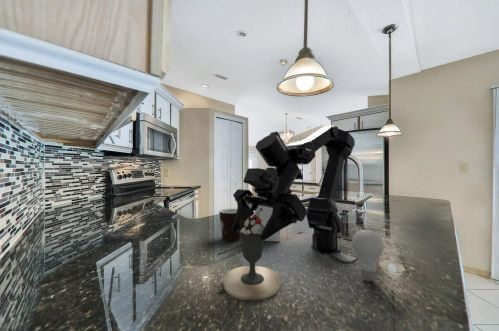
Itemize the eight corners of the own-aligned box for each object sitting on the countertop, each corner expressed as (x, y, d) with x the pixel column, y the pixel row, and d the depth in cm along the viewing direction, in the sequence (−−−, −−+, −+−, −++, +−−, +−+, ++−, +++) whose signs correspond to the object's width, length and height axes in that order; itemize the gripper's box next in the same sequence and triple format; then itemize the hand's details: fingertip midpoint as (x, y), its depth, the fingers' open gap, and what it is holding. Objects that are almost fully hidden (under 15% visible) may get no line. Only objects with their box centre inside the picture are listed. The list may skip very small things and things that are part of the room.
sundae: (273, 284, 43) (273, 209, 44) (240, 289, 42) (240, 211, 42) (262, 270, 50) (262, 204, 50) (234, 273, 48) (234, 206, 48)
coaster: (269, 268, 53) (268, 263, 53) (289, 295, 42) (289, 289, 42) (220, 274, 50) (220, 268, 50) (227, 304, 39) (227, 297, 39)
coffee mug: (242, 243, 72) (242, 213, 73) (217, 243, 72) (217, 213, 73) (244, 233, 84) (244, 207, 84) (222, 233, 84) (222, 207, 84)
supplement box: (280, 242, 73) (280, 198, 74) (254, 241, 75) (254, 197, 75) (281, 234, 82) (280, 195, 83) (257, 233, 84) (257, 194, 84)
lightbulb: (384, 291, 43) (383, 235, 43) (350, 283, 46) (349, 231, 46) (384, 278, 48) (383, 229, 48) (354, 272, 51) (353, 225, 52)
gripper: (239, 158, 56) (200, 204, 49) (297, 153, 42) (256, 217, 35) (260, 186, 61) (229, 233, 54) (319, 191, 47) (288, 254, 40)
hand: (246, 234), depth 45 cm, fingers open, 9 cm apart
